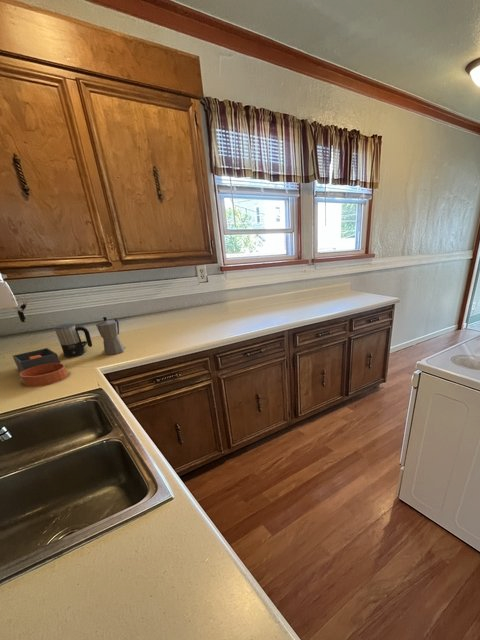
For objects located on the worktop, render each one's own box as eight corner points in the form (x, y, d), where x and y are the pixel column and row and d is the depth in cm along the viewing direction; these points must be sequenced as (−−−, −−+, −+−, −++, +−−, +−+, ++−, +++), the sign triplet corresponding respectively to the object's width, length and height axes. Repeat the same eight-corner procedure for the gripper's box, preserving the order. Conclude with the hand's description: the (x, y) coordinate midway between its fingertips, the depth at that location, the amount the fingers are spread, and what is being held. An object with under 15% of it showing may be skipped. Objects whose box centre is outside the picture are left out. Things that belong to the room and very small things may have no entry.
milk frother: (68, 358, 160) (57, 329, 153) (55, 352, 168) (44, 324, 162) (98, 351, 170) (89, 322, 163) (85, 345, 178) (76, 318, 172)
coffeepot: (115, 356, 161) (105, 320, 153) (98, 356, 162) (86, 320, 154) (132, 346, 175) (123, 313, 167) (116, 346, 176) (106, 313, 168)
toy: (36, 371, 144) (31, 358, 141) (33, 369, 146) (28, 357, 143) (47, 369, 146) (42, 356, 144) (44, 367, 149) (39, 354, 146)
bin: (27, 378, 138) (20, 362, 135) (19, 371, 146) (12, 355, 142) (62, 369, 147) (56, 353, 144) (53, 363, 155) (47, 347, 151)
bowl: (30, 391, 126) (25, 380, 124) (20, 382, 135) (15, 371, 133) (74, 379, 137) (70, 368, 134) (61, 371, 145) (57, 360, 143)
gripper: (15, 276, 131) (31, 319, 139) (-43, 280, 119) (-22, 326, 127) (20, 277, 127) (36, 321, 134) (-40, 281, 115) (-18, 329, 122)
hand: (8, 323), depth 131 cm, fingers open, 9 cm apart
